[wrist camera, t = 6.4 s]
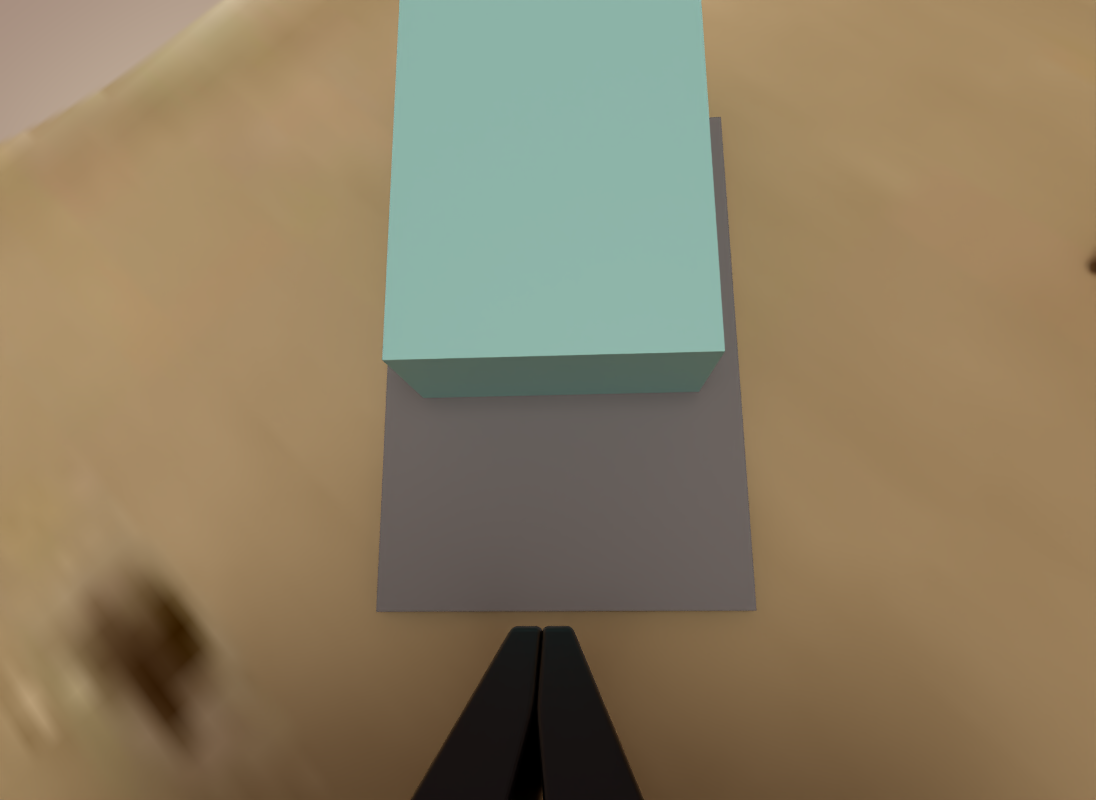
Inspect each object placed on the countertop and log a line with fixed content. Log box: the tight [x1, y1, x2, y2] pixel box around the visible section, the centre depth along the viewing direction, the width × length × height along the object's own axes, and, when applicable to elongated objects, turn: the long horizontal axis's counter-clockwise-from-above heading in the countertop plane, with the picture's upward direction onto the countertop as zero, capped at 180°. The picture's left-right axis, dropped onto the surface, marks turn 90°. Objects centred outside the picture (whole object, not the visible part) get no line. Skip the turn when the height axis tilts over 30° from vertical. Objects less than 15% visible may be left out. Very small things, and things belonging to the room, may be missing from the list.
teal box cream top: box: [382, 0, 725, 398], centre depth 17 cm, size 4×7×9 cm
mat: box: [376, 117, 756, 612], centre depth 18 cm, size 13×9×1 cm
